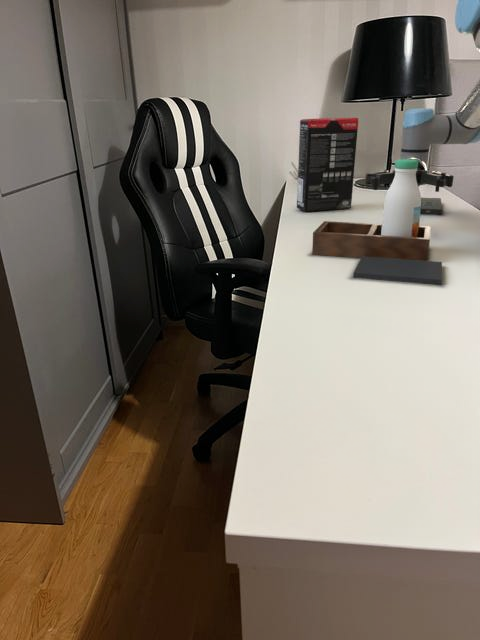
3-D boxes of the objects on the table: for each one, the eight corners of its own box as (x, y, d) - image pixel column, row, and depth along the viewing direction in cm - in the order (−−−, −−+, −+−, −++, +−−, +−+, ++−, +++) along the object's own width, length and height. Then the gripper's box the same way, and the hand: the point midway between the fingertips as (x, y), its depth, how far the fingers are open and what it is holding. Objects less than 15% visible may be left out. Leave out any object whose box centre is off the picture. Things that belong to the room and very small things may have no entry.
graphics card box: (343, 205, 166) (347, 117, 156) (353, 208, 160) (359, 117, 150) (295, 209, 161) (297, 118, 151) (305, 213, 155) (307, 119, 145)
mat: (441, 266, 102) (441, 261, 102) (441, 285, 92) (442, 279, 91) (361, 260, 107) (362, 256, 107) (353, 277, 97) (353, 272, 97)
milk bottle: (400, 259, 107) (410, 162, 99) (372, 252, 113) (379, 160, 105) (422, 253, 111) (434, 159, 103) (394, 246, 117) (403, 157, 109)
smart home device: (413, 207, 151) (414, 196, 168) (412, 213, 151) (414, 202, 169) (442, 208, 148) (441, 197, 165) (442, 214, 149) (440, 203, 166)
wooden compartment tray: (428, 248, 115) (430, 226, 113) (426, 263, 105) (430, 239, 103) (323, 241, 123) (324, 221, 121) (312, 254, 112) (312, 232, 111)
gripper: (459, 188, 130) (462, 203, 112) (362, 186, 138) (350, 199, 120) (464, 158, 127) (467, 168, 109) (364, 157, 135) (352, 166, 117)
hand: (406, 184), depth 115 cm, fingers open, 13 cm apart
